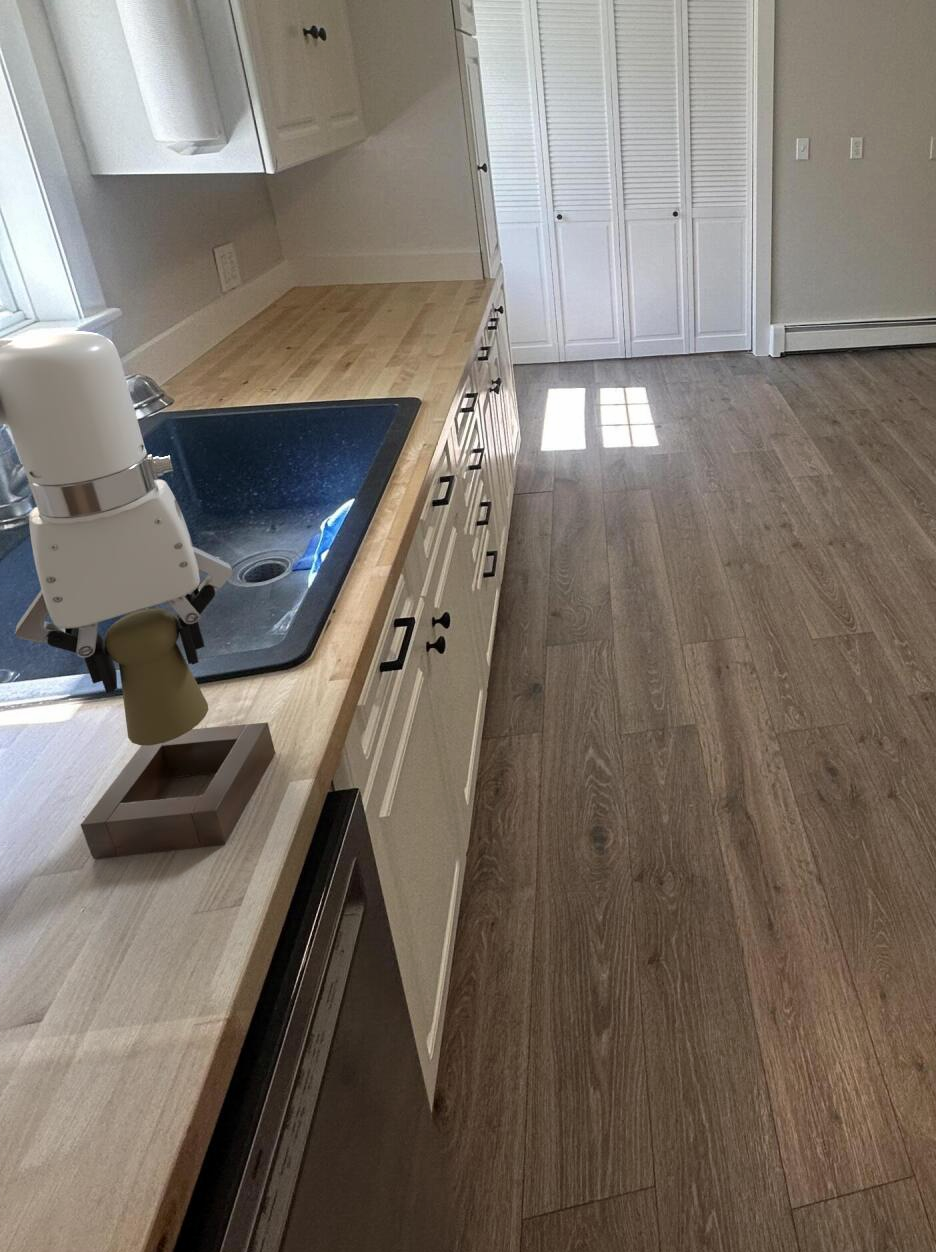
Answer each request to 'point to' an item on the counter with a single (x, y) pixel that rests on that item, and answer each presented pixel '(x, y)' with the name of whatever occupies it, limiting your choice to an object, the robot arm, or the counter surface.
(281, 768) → the counter surface
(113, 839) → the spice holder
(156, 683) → the cork
